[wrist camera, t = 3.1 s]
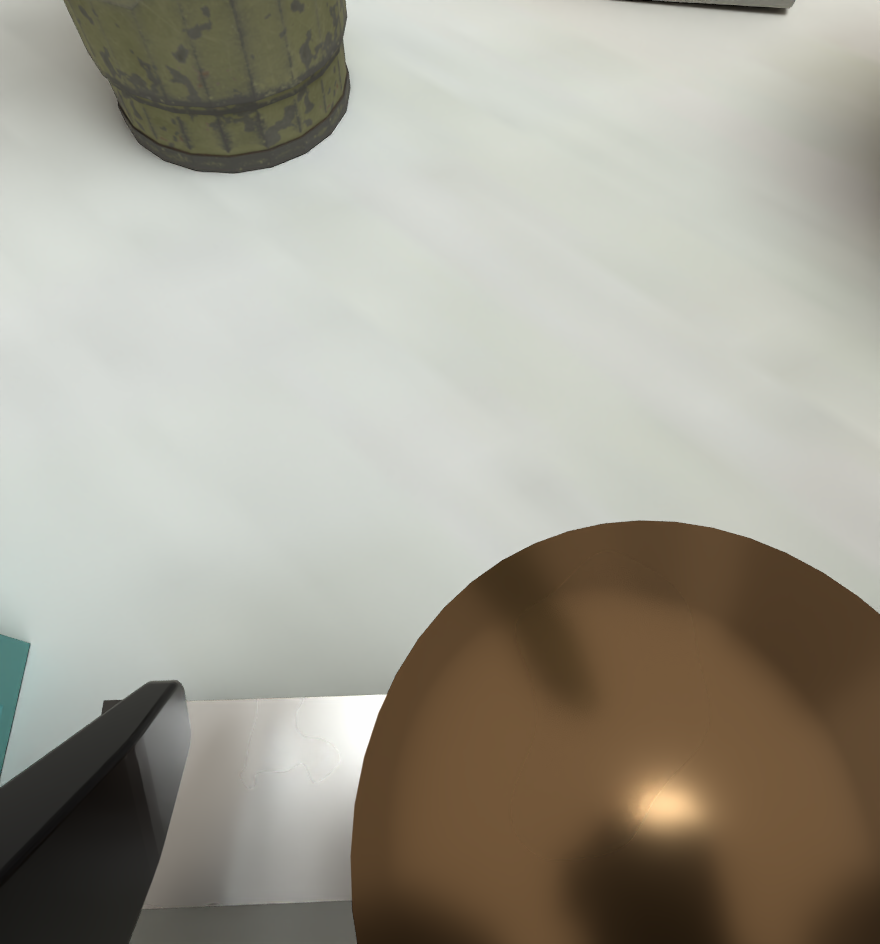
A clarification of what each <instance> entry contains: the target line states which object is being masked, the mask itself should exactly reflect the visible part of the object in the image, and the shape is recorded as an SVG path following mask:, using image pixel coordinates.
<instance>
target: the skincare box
mask: <svg viewBox="0 0 880 944" xmlns="http://www.w3.org/2000/svg"><path fill="white" fill-rule="evenodd" d="M654 1H671V2H688V3H707V4H725V5H742V6H759V7H775V8H790V7H792V5H793V4H794V2H795V0H654Z"/></svg>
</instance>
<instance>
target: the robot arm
mask: <svg viewBox="0 0 880 944" xmlns="http://www.w3.org/2000/svg"><path fill="white" fill-rule="evenodd" d="M190 744H191V724H190V719H189V713H188V708H187V702H186V697H185V691H184V688H183V686H182V684H181V683H180V682H179V681H177V680H168V681H150V682H148V683H146V684H144V685H143V686H142V687H140V688H139V689H137V690H136V691H135V692H133V693H132V694H130V695H129V696H128V697H126V698H125V699H123V700H122V701H121V702H119V703H118V704H116V705H115V706H114V707H112V708H111V709H109V710H108V711H107V712H105V713H104V714H102V715H101V716H100V717H98V718H97V719H95V720H94V721H93V722H91V723H90V724H88V725H87V726H86V727H84V728H83V729H81V730H80V731H79V732H77V733H76V734H74V735H73V736H72V737H70V738H69V739H67V740H66V741H65V742H63V743H62V744H60V745H59V746H58V747H56V748H55V749H53V750H52V751H51V752H49V753H48V754H46V755H45V756H44V757H42V758H41V759H39V760H38V761H37V762H35V763H34V764H32V765H31V766H30V767H28V768H27V769H25V770H24V771H23V772H21V773H20V774H18V775H17V776H16V777H14V778H13V779H11V780H10V781H9V782H7V783H6V784H4V785H3V786H2V787H0V944H129V941H130V939H131V936H132V933H133V931H134V928H135V926H136V923H137V920H138V918H139V915H140V912H141V910H142V907H143V904H144V902H145V899H146V896H147V894H148V891H149V889H150V886H151V883H152V881H153V878H154V875H155V872H156V869H157V866H158V864H159V861H160V858H161V854H162V851H163V847H164V844H165V840H166V836H167V833H168V829H169V825H170V821H171V817H172V814H173V810H174V806H175V802H176V798H177V795H178V791H179V787H180V783H181V779H182V776H183V772H184V768H185V764H186V760H187V757H188V753H189V749H190Z"/></svg>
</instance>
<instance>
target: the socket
mask: <svg viewBox="0 0 880 944" xmlns="http://www.w3.org/2000/svg"><path fill="white" fill-rule="evenodd" d="M29 646H30V643H27V642H23V641H20V640H17V639H14V638H11V637H8V636H4V635H1V634H0V774H1V769H2V765H3V760H4V756H5V752H6V747H7V743H8V738H9V734H10V730H11V725H12V721H13V716H14V712H15V708H16V703H17V699H18V694H19V690H20V686H21V681H22V677H23V672H24V668H25V664H26V659H27V655H28V650H29Z"/></svg>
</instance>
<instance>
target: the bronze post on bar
mask: <svg viewBox="0 0 880 944" xmlns="http://www.w3.org/2000/svg"><path fill="white" fill-rule="evenodd" d="M121 701H122V700H105V701H104V702H103V708H102V714H104V713H105V712H107V711H108V710H109V709H111V708H112V707H114V706H115V705H116V704H118V703H119V702H121ZM186 702H187V708H188V713H189V719H190V724H191V744H190V749H189V753H188V757H187V760H186V764H185V768H184V772H183V776H182V779H181V783H180V787H179V791H178V795H177V798H176V802H175V806H174V810H173V814H172V817H171V821H170V825H169V829H168V833H167V836H166V840H165V844H164V847H163V851H162V854H161V858H160V861H159V864H158V866H157V869H156V872H155V875H154V878H153V881H152V883H151V886H150V889H149V891H148V894H147V896H146V899H145V902H144V904H143V907H142V909H163V908H186V907H210V906H233V905H257V904H281V903H304V902H328V901H352V912H353V919H354V925H355V932H356V939H357V944H880V614H879V613H878V612H876V611H875V610H874V609H873V608H872V607H870V606H869V605H868V604H867V603H866V602H864V601H863V600H862V599H861V598H859V597H858V596H857V595H855V594H854V593H852V592H851V591H849V590H848V589H846V588H845V587H844V586H842V585H841V584H839V583H838V582H836V581H835V580H833V579H832V578H830V577H829V576H827V575H826V574H824V573H823V572H821V571H819V570H817V569H815V568H813V567H812V566H810V565H808V564H806V563H804V562H802V561H800V560H798V559H797V558H795V557H793V556H791V555H789V554H787V553H785V552H783V551H780V550H778V549H775V548H773V547H770V546H768V545H765V544H763V543H760V542H758V541H755V540H753V539H750V538H747V537H744V536H740V535H736V534H733V533H729V532H726V531H722V530H719V529H715V528H711V527H704V526H698V525H692V524H686V523H679V522H664V521H628V522H617V523H605V524H599V525H595V526H590V527H586V528H581V529H577V530H572V531H568V532H565V533H562V534H559V535H557V536H554V537H551V538H548V539H546V540H543V541H540V542H537V543H535V544H533V545H531V546H529V547H527V548H525V549H523V550H521V551H519V552H517V553H515V554H513V555H512V556H510V557H508V558H506V559H504V560H502V561H501V562H499V563H498V564H496V565H495V566H494V567H492V568H491V569H489V570H488V571H486V572H485V573H484V574H482V575H481V576H479V577H478V578H477V579H475V580H474V581H472V582H471V583H470V584H469V585H468V586H467V587H466V588H465V589H464V590H463V591H461V592H460V593H459V594H458V595H457V596H456V597H455V598H454V599H453V600H452V601H451V602H450V603H449V604H448V605H446V606H445V607H444V608H443V610H442V611H441V612H440V613H439V614H438V616H437V617H436V618H435V619H434V620H433V622H432V623H431V624H430V625H429V627H428V628H427V629H426V630H425V631H424V633H423V634H422V635H421V636H420V637H419V639H418V640H417V642H416V643H415V645H414V647H413V648H412V650H411V651H410V653H409V655H408V656H407V658H406V659H405V661H404V663H403V664H402V666H401V667H400V669H399V671H398V672H397V674H396V676H395V678H394V680H393V682H392V684H391V687H390V689H389V691H388V693H387V695H360V696H329V697H297V698H266V699H235V700H204V701H186ZM102 714H101V715H102Z"/></svg>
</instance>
